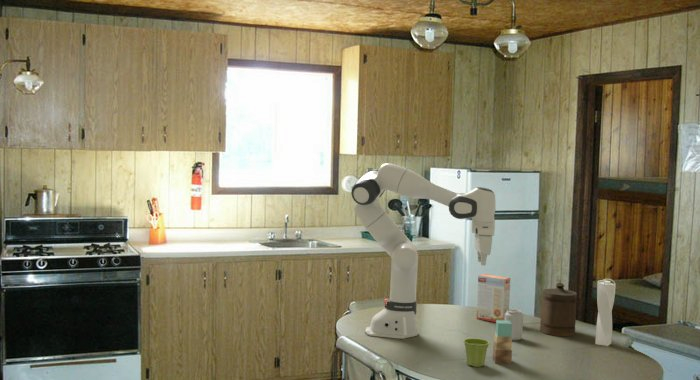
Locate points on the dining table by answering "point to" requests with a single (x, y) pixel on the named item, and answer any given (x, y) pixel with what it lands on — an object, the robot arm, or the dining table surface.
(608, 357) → the dining table surface
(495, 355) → the walnut base block
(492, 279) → the cracker box
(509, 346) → the oak middle block
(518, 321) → the can
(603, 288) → the skyscraper
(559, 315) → the wooden container
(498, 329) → the teal block
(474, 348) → the plant pot
